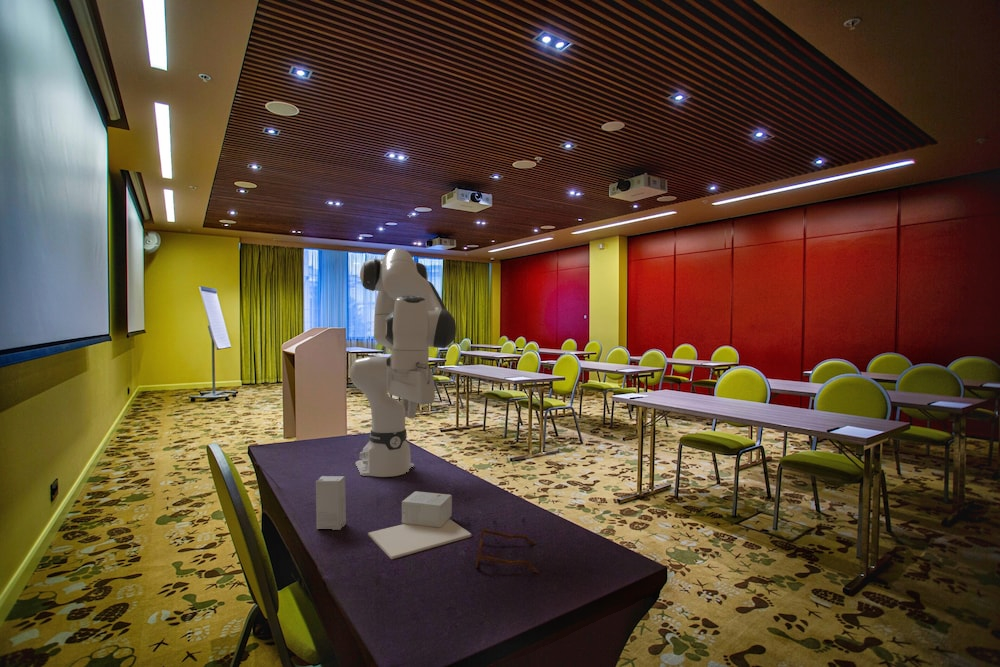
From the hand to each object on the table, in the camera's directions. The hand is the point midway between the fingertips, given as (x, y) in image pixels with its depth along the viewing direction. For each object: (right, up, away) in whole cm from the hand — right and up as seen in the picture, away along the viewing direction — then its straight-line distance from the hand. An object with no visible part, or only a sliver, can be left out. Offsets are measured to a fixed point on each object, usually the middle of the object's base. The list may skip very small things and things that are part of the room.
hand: (409, 417), depth 117 cm
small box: (-1, -24, +4) cm, 24 cm away
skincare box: (-19, -27, -1) cm, 33 cm away
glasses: (+24, -28, -14) cm, 40 cm away
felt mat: (+3, -27, -5) cm, 28 cm away
